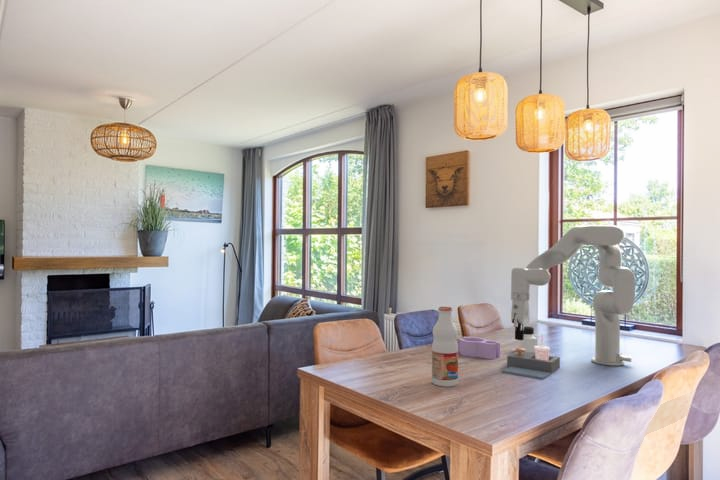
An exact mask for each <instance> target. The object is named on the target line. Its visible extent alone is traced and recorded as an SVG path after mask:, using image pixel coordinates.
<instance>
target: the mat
mask: <svg viewBox="0 0 720 480" xmlns="http://www.w3.org/2000/svg"><path fill="white" fill-rule="evenodd" d="M502 373H504V374H509V375H516V376H520V377H527V378H533V379H538V380H543V379H544V380H545V379H546V378H548V377H549V376H551V375H552V374H551V373H550V372H544V371H538V370H531V369H525V368H519V367H513V366H510V367H506V368H505V369H503V370H502Z"/></svg>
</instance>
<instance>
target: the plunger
mask: <svg viewBox="0 0 720 480" xmlns="http://www.w3.org/2000/svg"><path fill="white" fill-rule="evenodd" d="M516 351H517V352H518V355H523V352H525V349H524V348H518V347H515V350H514V352H516Z"/></svg>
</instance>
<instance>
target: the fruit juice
mask: <svg viewBox="0 0 720 480" xmlns="http://www.w3.org/2000/svg"><path fill="white" fill-rule="evenodd" d="M452 312H453V307H451V306H439V307H438V313H439V314H438V319H437V321H436V323H435V325H434V326H433V327H432V335H433V341H432V345H431V348H432V349H431V350H432V351H431V353H432V354H431V356H432V357H431V381H432V384H433V385H435V386H439V387H445V388H447V387H451V388H452V387H456V386H457V385H458V384H459V383H458V382H459V353H458V343H457V341H456V338H458V335H459V330H458V328H457V326H456V324H455V322H454V321H453V318H452V317H453V316H452Z"/></svg>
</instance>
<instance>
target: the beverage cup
mask: <svg viewBox="0 0 720 480" xmlns="http://www.w3.org/2000/svg"><path fill="white" fill-rule="evenodd" d="M540 337H541V340H540V342H541V345H537V346H534V349H535V353H534V354H535V359H540V360H547V361H548V360H549V356H550V349H551V347H550V346H547V345H543V342H544V341H543V340H544V338H543V334H541V336H540Z"/></svg>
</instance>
